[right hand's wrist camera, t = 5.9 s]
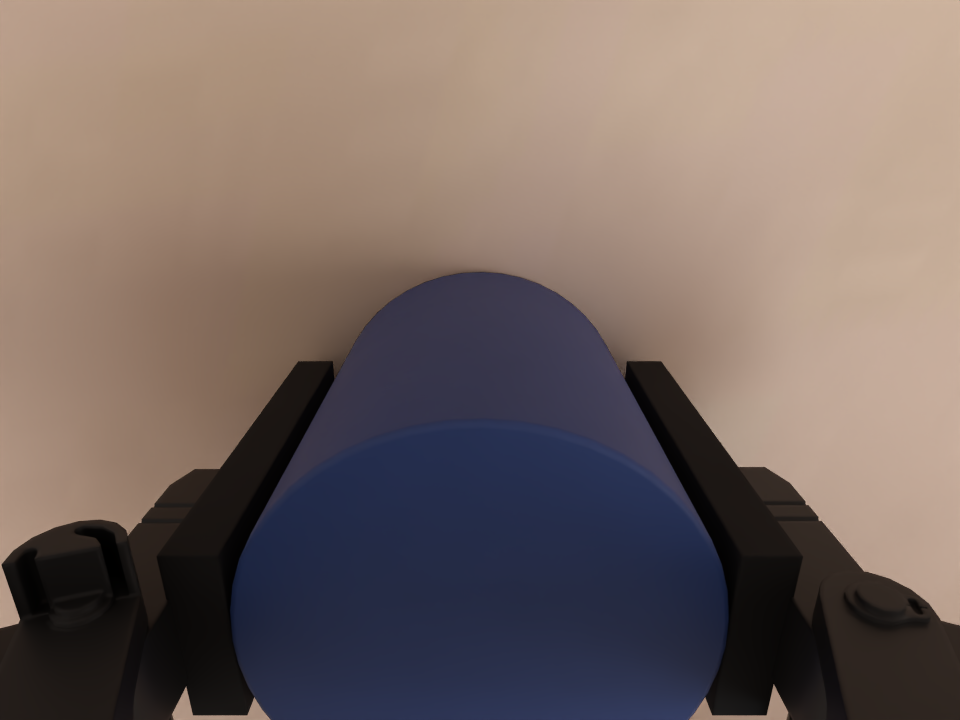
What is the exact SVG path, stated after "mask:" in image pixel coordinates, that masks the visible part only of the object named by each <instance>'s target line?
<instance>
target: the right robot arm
mask: <svg viewBox="0 0 960 720" xmlns="http://www.w3.org/2000/svg"><path fill="white" fill-rule="evenodd" d="M625 381H626V383H627V385H628V387H629V388H630V390H631V392H632V394H633V396H634V398H635V399H636V401H637V403H638V405H639V407H640V409H641V410H642V412H643V414H644V416H645V418H646V420H647V422H648V423H649V425H650V427H651V429H652V431H653V433H654V434H655V436H656V438H657V440H658V442H659V444H660V445H661V447H662V449H663V451H664V453H665V455H666V457H667V458H668V460H669V462H670V464H671V466H672V468H673V469H674V471H675V473H676V475H677V477H678V479H679V480H680V482H681V484H682V486H683V488H684V490H685V492H686V493H687V495H688V497H689V499H690V501H691V503H692V504H693V506H694V508H695V510H696V512H697V514H698V515H699V517H700V519H701V521H702V523H703V525H704V527H705V528H706V530H707V532H708V534H709V536H710V538H711V539H712V542H713V544H714V547H715V549H716V552H717V554H718V556H719V559H720V561H721V564H722V567H723V571H724V576H725V580H726V585H727V589H728V605H729V623H728V631H727V640H726V647H725V650H724V653H723V657H722V660H721V664H720V667H719V670H718V672H717V674H716V677H715V679H714V681H713V683H712V685H711V687H710V689H709V691H708V693H707V695H706V696H705V698H706V700H707V703H708V705H709V708H710V711H711V713H712V715H767V711H768V706H769V702H770V698H771V693H772V689H773V685H775V687H776V689H777V691H778V693H779V695H780V697H781V699H782V701H783V703H784V705H785V706H786V708H787V710H788V716H787V720H960V626H959V625H955V624H950V623H947V622H943V621H941V620H940V618H939V617H938V616H937V614H936V613H935V611H934V610H933V609H932V607H931V606H930V605H929V603H927V602H926V601H925V600H924V599H922V598H921V597H920V596H918V595H917V594H916V593H915V592H913V591H912V590H911V589H909V588H907V587H905V586H903V585H901V584H899V583H897V582H895V581H893V580H891V579H889V578H885V577H882V576H879V575H875V574H872V573H869V572H864V571H863V570H862V569H861V568H860V566H859V565H858V564H857V563H856V562H855V560H854V559H853V558H852V557H851V556H850V554H849V553H848V552H847V551H846V550H845V548H844V547H843V546H842V545H841V544H840V542H839V541H838V540H837V539H836V538H835V536H834V535H833V534H832V533H831V532H830V530H829V529H828V528H827V527H826V526H825V524H824V523H823V522H822V521H819V520H818V516H817V515H816V514H815V513H814V511H813V510H812V509H811V508H810V507H809V505H806V504H805V501H804V499H803V498H802V497H801V496H800V495H799V493H798V492H797V491H796V490H795V489H794V487H793V486H792V485H791V484H790V483H789V482H787V481H786V480H784V479H783V478H781V477H780V476H778V475H776V474H775V473H773V472H772V471H770V470H769V469H767V468H765V467H738V466H737V465H736V464H735V462H734V461H733V459H732V458H731V457H730V455H729V454H728V453H727V451H726V450H725V448H724V447H723V446H722V444H721V443H720V442H719V440H718V439H717V437H716V436H715V435H714V433H713V432H712V431H711V429H710V428H709V426H708V425H707V424H706V422H705V421H704V420H703V418H702V417H701V415H700V414H699V413H698V411H697V410H696V409H695V407H694V406H693V404H692V403H691V402H690V400H689V399H688V398H687V396H686V395H685V394H684V392H683V391H682V389H681V388H680V387H679V385H678V384H677V383H676V381H675V380H674V378H673V377H672V376H671V374H670V373H669V372H668V370H667V369H666V367H665V366H664V365H663V363H662V362H661V361H627V366H626V377H625ZM333 382H334V371H333V361H298V363H297V364H296V365H295V367H294V368H293V370H292V371H291V372H290V374H289V375H288V376H287V378H286V379H285V381H284V382H283V383H282V385H281V386H280V387H279V389H278V390H277V392H276V393H275V394H274V396H273V397H272V398H271V400H270V401H269V403H268V404H267V405H266V407H265V408H264V409H263V411H262V412H261V413H260V415H259V416H258V418H257V419H256V420H255V422H254V423H253V424H252V426H251V427H250V429H249V430H248V431H247V433H246V434H245V435H244V437H243V438H242V440H241V441H240V442H239V444H238V445H237V446H236V448H235V449H234V451H233V452H232V453H231V455H230V456H229V457H228V459H227V460H226V462H225V463H224V464H223V466H222V467H221V468H220V469H195V470H193V471H191V472H190V473H188V474H187V475H185V476H184V477H182V478H181V479H179V480H177V481H176V482H174V483H173V484H171V485H170V486H169V487H168V488H167V490H166V491H165V492H164V493H163V494H162V496H161V497H160V498H159V499H158V500H157V502H156V503H155V507H154V508H151V509H150V510H149V511H148V512H147V514H146V515H145V516H144V517H143V518H142V523H138V524H137V526H136V527H135V528H134V529H133V530H132V532H131V533H130V534H129V535H128V536H127V531H126V530H125V529H124V528H123V527H121V526H120V525H119V524H118V523H115V522H110V521H105V520H89V521H78V522H74V523H71V524H67V525H63V526H59V527H55V528H53V529H51V530H49V531H46V532H44V533H42V534H40V535H37V536H35V537H33V538H31V539H30V540H28V541H27V542H25V543H24V544H22V545H21V546H20V547H18V548H17V549H15V550H14V551H13V552H12V553H11V554H10V555H9V556H8V558H7V559H6V560H5V561H4V562H3V563H2V568H3V571H4V574H5V576H6V579H7V582H8V585H9V588H10V591H11V594H12V597H13V600H14V602H15V605H16V608H17V611H18V614H19V617H20V622H19V624H16V625H12V626H9V627H4V628H0V720H173V716H172V713H173V711H174V709H175V707H176V705H177V703H178V701H179V699H180V697H181V695H182V693H183V691H184V689H185V687H187V691H188V695H189V700H190V704H191V708H192V712H193V715H248V712H249V709H250V707H251V704H252V702H253V699H254V695H253V694H252V692H251V691H250V689H249V687H248V685H247V683H246V680H245V678H244V676H243V673H242V671H241V669H240V666H239V664H238V660H237V656H236V652H235V648H234V644H233V640H232V629H231V617H230V606H231V595H232V584H233V581H234V577H235V573H236V569H237V565H238V562H239V558H240V556H241V554H242V552H243V550H244V547H245V545H246V543H247V541H248V539H249V537H250V534H251V532H252V531H253V529H254V527H255V525H256V523H257V521H258V520H259V518H260V516H261V514H262V512H263V510H264V509H265V507H266V505H267V503H268V501H269V499H270V498H271V496H272V494H273V492H274V490H275V488H276V486H277V485H278V483H279V481H280V479H281V477H282V475H283V474H284V472H285V470H286V468H287V466H288V464H289V463H290V461H291V459H292V457H293V455H294V453H295V452H296V450H297V448H298V446H299V444H300V442H301V441H302V439H303V437H304V435H305V433H306V431H307V430H308V428H309V426H310V424H311V422H312V420H313V419H314V417H315V415H316V413H317V411H318V409H319V408H320V406H321V404H322V402H323V400H324V398H325V397H326V395H327V393H328V391H329V389H330V387H331V386H332V384H333Z"/></svg>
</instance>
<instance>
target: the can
mask: <svg viewBox="0 0 960 720" xmlns="http://www.w3.org/2000/svg"><path fill="white" fill-rule="evenodd" d="M230 617H231V629H232V640H233V644H234V648H235V652H236V656H237V660H238V664H239V666H240V669H241V671H242V673H243V676H244V678H245V680H246V683H247V685H248V687H249V689H250V691H251V692H252V694H253V695H254V697H255V699H256V700H257V702H258V704H259V705H260V707H261V708H262V710H263V711H264V712H265V713H266V715H267V716H268V717H269V718H270V719H271V720H689V719H690V718H691V716H692V715H693V714H694V713H695V711H696V710H697V708H698V707H699V705H700V704H701V702H702V701H703V699H704V698H705V696H706V695H707V693H708V691H709V689H710V687H711V685H712V683H713V681H714V679H715V677H716V674H717V672H718V670H719V667H720V664H721V660H722V657H723V653H724V650H725V647H726V640H727V631H728V623H729V605H728V589H727V585H726V580H725V576H724V571H723V567H722V564H721V561H720V559H719V556H718V554H717V552H716V549H715V547H714V544H713V542H712V539H711V538H710V536H709V534H708V532H707V530H706V528H705V527H704V525H703V523H702V521H701V519H700V517H699V515H698V514H697V512H696V510H695V508H694V506H693V504H692V503H691V501H690V499H689V497H688V495H687V493H686V492H685V490H684V488H683V486H682V484H681V482H680V480H679V479H678V477H677V475H676V473H675V471H674V469H673V468H672V466H671V464H670V462H669V460H668V458H667V457H666V455H665V453H664V451H663V449H662V447H661V445H660V444H659V442H658V440H657V438H656V436H655V434H654V433H653V431H652V429H651V427H650V425H649V423H648V422H647V420H646V418H645V416H644V414H643V412H642V410H641V409H640V407H639V405H638V403H637V401H636V399H635V398H634V396H633V394H632V392H631V390H630V388H629V387H628V385H627V383H626V381H625V379H624V377H623V375H622V374H621V372H620V370H619V368H618V366H617V364H616V363H615V361H614V359H613V357H612V355H611V353H610V352H609V350H608V348H607V346H606V344H605V343H604V341H603V339H602V338H601V336H600V334H599V333H598V331H597V330H596V328H595V327H594V326H593V325H592V324H591V322H590V321H589V320H588V319H587V317H586V316H585V315H584V314H583V313H581V312H580V311H579V310H578V309H577V308H576V307H575V306H574V305H573V304H572V303H570V302H569V301H567V300H566V299H564V298H563V297H562V296H560V295H559V294H557V293H556V292H554V291H552V290H550V289H548V288H546V287H544V286H542V285H540V284H537V283H534V282H532V281H529V280H526V279H523V278H520V277H515V276H510V275H505V274H499V273H486V272H475V273H460V274H455V275H449V276H444V277H440V278H437V279H434V280H431V281H428V282H425V283H422V284H420V285H418V286H416V287H414V288H412V289H410V290H407V291H406V292H404V293H403V294H401V295H400V296H398V297H397V298H395V299H393V300H392V301H391V302H389V303H388V304H387V305H386V306H385V307H384V308H382V309H381V310H380V311H379V312H378V313H377V314H376V315H375V316H374V317H373V318H372V319H371V321H370V322H369V323H368V324H367V325H366V326H365V328H364V329H363V331H362V332H361V334H360V335H359V337H358V338H357V340H356V341H355V343H354V345H353V347H352V349H351V351H350V352H349V354H348V356H347V358H346V360H345V362H344V364H343V365H342V367H341V369H340V371H339V373H338V375H337V376H336V378H335V380H334V382H333V384H332V386H331V387H330V389H329V391H328V393H327V395H326V397H325V398H324V400H323V402H322V404H321V406H320V408H319V409H318V411H317V413H316V415H315V417H314V419H313V420H312V422H311V424H310V426H309V428H308V430H307V431H306V433H305V435H304V437H303V439H302V441H301V442H300V444H299V446H298V448H297V450H296V452H295V453H294V455H293V457H292V459H291V461H290V463H289V464H288V466H287V468H286V470H285V472H284V474H283V475H282V477H281V479H280V481H279V483H278V485H277V486H276V488H275V490H274V492H273V494H272V496H271V498H270V499H269V501H268V503H267V505H266V507H265V509H264V510H263V512H262V514H261V516H260V518H259V520H258V521H257V523H256V525H255V527H254V529H253V531H252V532H251V534H250V537H249V539H248V541H247V543H246V545H245V547H244V550H243V552H242V554H241V556H240V558H239V562H238V565H237V569H236V573H235V577H234V581H233V584H232V595H231V606H230Z"/></svg>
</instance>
